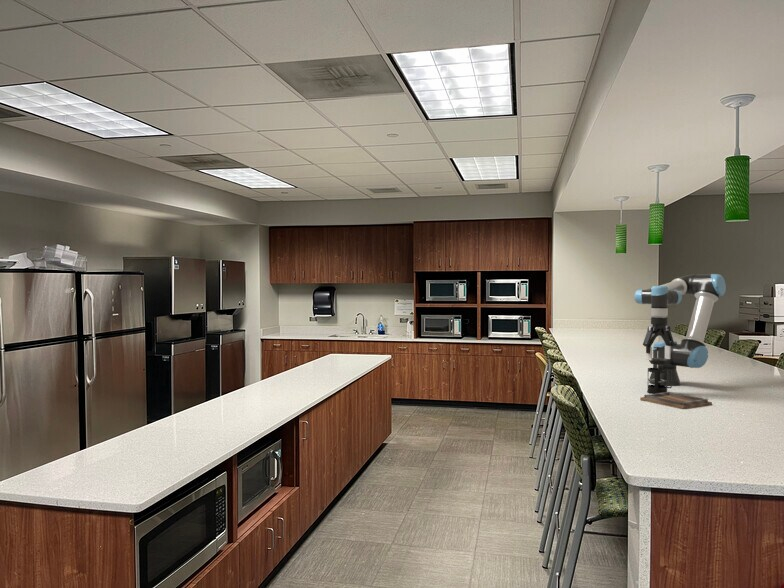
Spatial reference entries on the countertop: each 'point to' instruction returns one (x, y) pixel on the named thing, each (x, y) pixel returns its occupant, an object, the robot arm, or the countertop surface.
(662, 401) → the serving board
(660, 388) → the french press
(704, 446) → the countertop surface
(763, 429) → the countertop surface
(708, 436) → the countertop surface
